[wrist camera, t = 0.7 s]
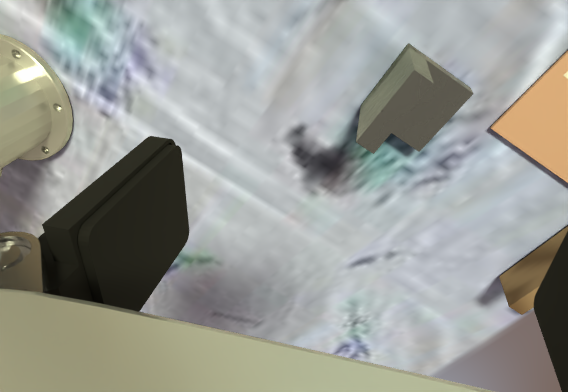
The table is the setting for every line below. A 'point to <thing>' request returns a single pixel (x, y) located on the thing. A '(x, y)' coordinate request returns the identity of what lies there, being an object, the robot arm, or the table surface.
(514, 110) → the pad
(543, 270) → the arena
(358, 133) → the bracket
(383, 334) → the table surface
